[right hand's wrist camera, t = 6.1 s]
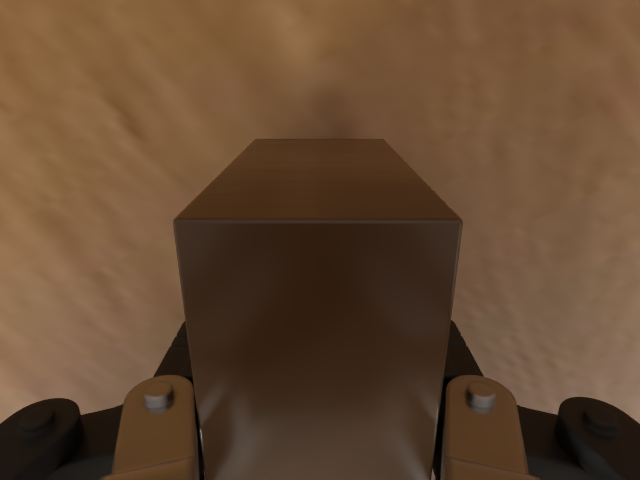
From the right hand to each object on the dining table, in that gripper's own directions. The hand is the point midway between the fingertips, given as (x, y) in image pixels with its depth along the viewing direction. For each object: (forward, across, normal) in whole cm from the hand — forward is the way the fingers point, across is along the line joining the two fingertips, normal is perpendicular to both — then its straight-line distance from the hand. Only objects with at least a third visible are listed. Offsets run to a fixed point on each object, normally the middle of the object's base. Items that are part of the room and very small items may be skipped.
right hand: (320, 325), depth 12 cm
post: (+4, 0, -33) cm, 33 cm away
